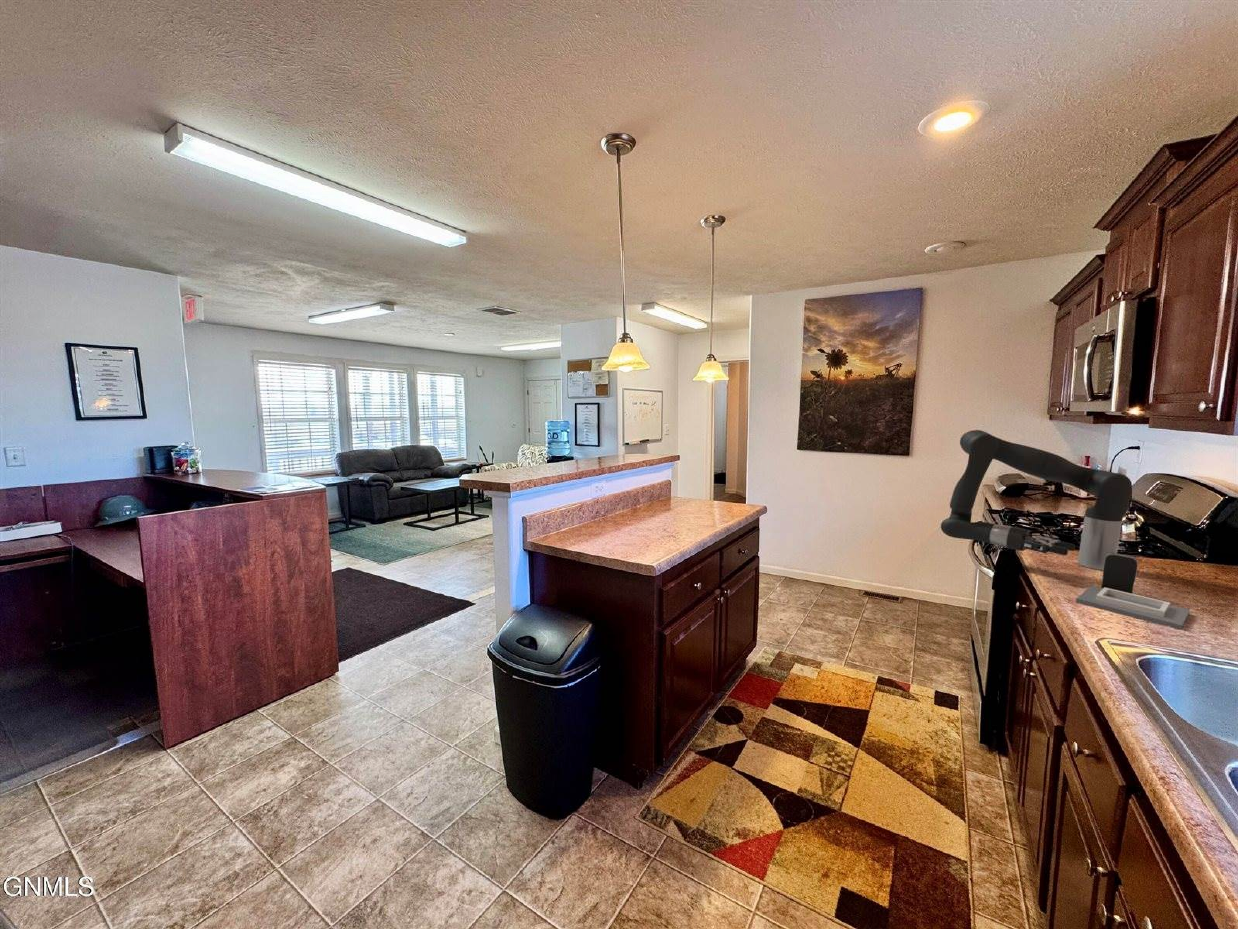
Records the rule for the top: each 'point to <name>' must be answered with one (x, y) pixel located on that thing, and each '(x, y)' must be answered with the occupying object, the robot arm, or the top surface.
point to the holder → (1135, 606)
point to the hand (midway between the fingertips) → (1071, 550)
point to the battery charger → (1119, 572)
